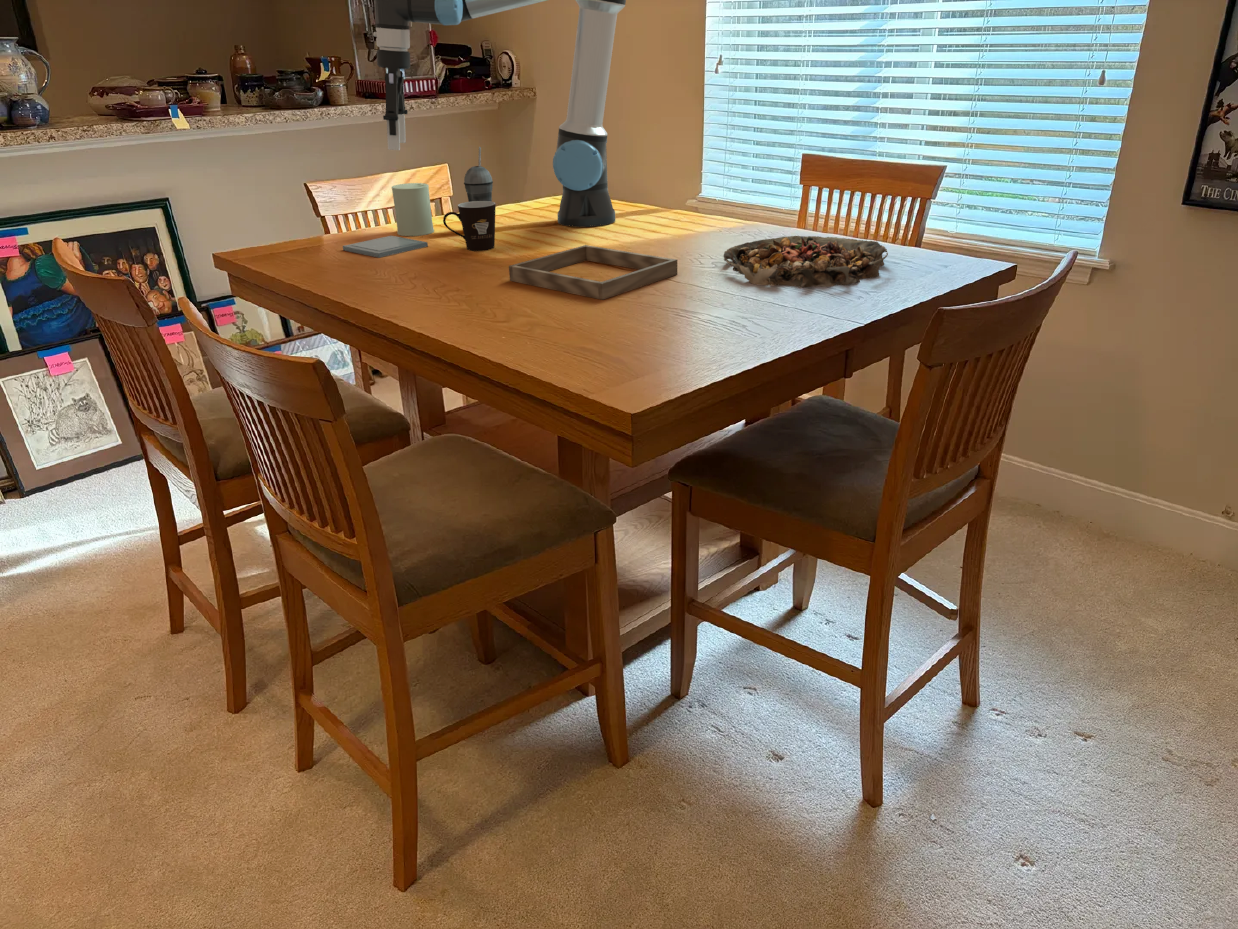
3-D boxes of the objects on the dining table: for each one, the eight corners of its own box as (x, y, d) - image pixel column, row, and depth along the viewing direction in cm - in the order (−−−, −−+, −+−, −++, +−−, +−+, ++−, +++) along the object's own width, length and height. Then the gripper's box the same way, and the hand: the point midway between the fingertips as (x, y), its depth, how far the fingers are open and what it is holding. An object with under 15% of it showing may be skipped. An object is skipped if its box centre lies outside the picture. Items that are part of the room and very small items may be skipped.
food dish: (800, 305, 164) (801, 263, 161) (690, 274, 190) (689, 237, 186) (928, 269, 181) (932, 230, 177) (811, 245, 206) (812, 210, 203)
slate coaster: (427, 246, 214) (427, 241, 213) (378, 257, 204) (378, 252, 204) (391, 239, 222) (391, 235, 221) (343, 250, 212) (342, 245, 212)
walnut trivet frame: (677, 274, 183) (677, 259, 181) (602, 299, 167) (602, 283, 166) (586, 258, 197) (585, 244, 196) (509, 280, 182) (508, 265, 180)
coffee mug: (502, 243, 214) (499, 200, 209) (494, 252, 206) (490, 207, 202) (455, 244, 215) (450, 201, 211) (445, 252, 207) (440, 207, 203)
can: (430, 235, 225) (424, 186, 220) (393, 236, 225) (386, 187, 220) (437, 228, 233) (432, 180, 228) (402, 229, 233) (395, 181, 228)
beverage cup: (465, 228, 232) (456, 146, 223) (492, 225, 235) (484, 144, 226) (473, 233, 226) (464, 149, 217) (500, 230, 229) (493, 147, 220)
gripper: (383, 46, 218) (387, 138, 227) (369, 49, 196) (374, 151, 205) (414, 48, 219) (417, 140, 228) (404, 52, 197) (408, 153, 206)
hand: (397, 146), depth 217 cm, fingers open, 13 cm apart
